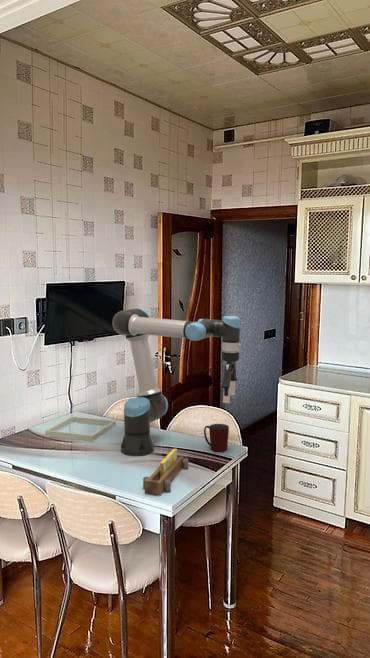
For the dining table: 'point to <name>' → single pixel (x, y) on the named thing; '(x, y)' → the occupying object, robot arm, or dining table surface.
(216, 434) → the mug
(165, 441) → the dining table surface
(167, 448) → the dining table surface
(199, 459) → the dining table surface
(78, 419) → the tray rim
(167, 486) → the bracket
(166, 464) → the candy box
